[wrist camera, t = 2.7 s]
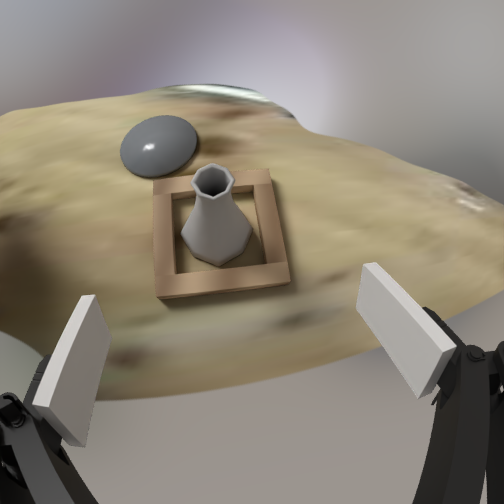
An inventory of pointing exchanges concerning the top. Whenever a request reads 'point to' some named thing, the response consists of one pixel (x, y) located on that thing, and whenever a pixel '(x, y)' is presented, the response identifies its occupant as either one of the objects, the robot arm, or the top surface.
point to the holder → (222, 279)
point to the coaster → (158, 146)
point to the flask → (215, 218)
